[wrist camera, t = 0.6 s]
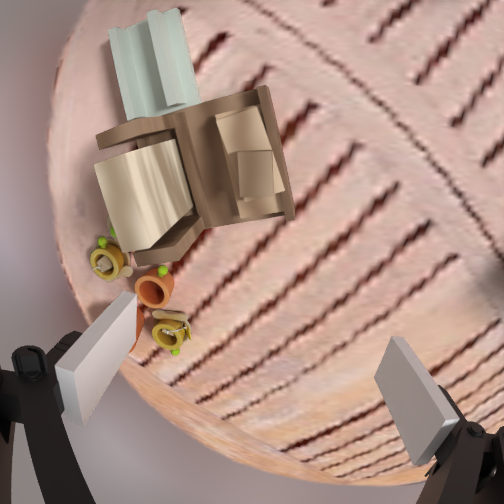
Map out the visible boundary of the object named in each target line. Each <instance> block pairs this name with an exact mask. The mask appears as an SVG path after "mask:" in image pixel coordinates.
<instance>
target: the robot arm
mask: <svg viewBox="0 0 504 504" xmlns="http://www.w3.org/2000/svg"><path fill="white" fill-rule="evenodd" d="M136 315H137V294H134V293H130V292H126V291H123V292H122V293H121V294H120V295H119V296H118V297H117V298H116V299H115V300H114V301H113V302H112V303H111V304H110V305H109V306H108V307H107V308H106V309H105V311H104V312H103V313H102V314H101V315H100V316H99V317H98V318H97V319H96V320H95V321H94V322H93V323H92V324H91V326H90V327H89V328H88V329H87V330H86V331H85V332H84V333H80V332H77V331H73V332H71V333H69V334H67V335H65V336H64V337H63V338H62V339H61V340H60V341H59V343H57V344H56V345H55V346H54V348H52V349H51V350H50V351H49V352H48V353H47V354H46V355H45V353H44V351H43V350H42V349H41V348H39V347H36V346H28V345H27V346H22V347H20V348H18V349H16V350H15V351H14V352H13V353H12V357H11V358H12V362H13V366H14V370H15V372H13V371H8V370H2V369H1V367H0V504H11V472H12V455H13V441H14V432H15V423H16V422H18V423H22V424H24V428H25V433H26V438H27V442H28V446H29V451H30V454H31V458H32V462H33V466H34V469H35V473H36V476H37V480H38V483H39V486H40V489H41V492H42V495H43V498H44V501H45V504H96V503H95V501H94V499H93V497H92V495H91V493H90V490H89V488H88V486H87V484H86V481H85V479H84V477H83V475H82V472H81V470H80V467H79V465H78V463H77V460H76V457H75V455H74V452H73V450H72V447H71V444H70V442H69V439H68V436H67V433H66V430H65V427H64V424H63V421H62V418H61V414H62V413H63V411H65V415H66V419H67V420H68V421H71V422H73V423H76V424H78V425H81V426H84V425H85V424H86V422H87V420H88V419H89V417H90V415H91V413H92V412H93V410H94V408H95V407H96V405H97V403H98V402H99V400H100V398H101V397H102V395H103V393H104V391H105V390H106V388H107V387H108V385H109V383H110V382H111V380H112V378H113V377H114V375H115V374H116V372H117V370H118V369H119V367H120V365H121V364H122V362H123V361H124V359H125V357H126V356H127V354H128V353H129V351H130V349H131V348H132V346H133V345H134V343H135V342H136ZM374 379H375V381H376V383H377V385H378V387H379V389H380V391H381V394H382V396H383V398H384V400H385V402H386V404H387V407H388V409H389V411H390V413H391V415H392V418H393V420H394V422H395V424H396V426H397V429H398V431H399V433H400V436H401V438H402V440H403V442H404V445H405V447H406V449H407V452H408V454H409V456H410V459H411V461H412V463H413V465H421V464H427V463H428V462H429V461H430V459H431V458H432V457H433V456H434V454H435V456H436V458H437V461H436V462H435V464H434V465H433V466H432V467H431V468H430V470H429V471H428V472H427V473H426V475H425V477H427V476H428V474H429V476H428V479H427V481H426V483H425V486H424V488H423V490H422V492H421V494H420V497H419V499H418V501H417V503H416V504H504V426H502V427H500V428H499V430H498V431H497V433H496V434H489V433H486V432H485V430H484V428H483V427H482V426H481V425H479V424H478V423H475V422H472V421H470V422H467V420H466V419H465V417H464V416H463V414H462V413H461V411H460V410H459V408H458V407H457V405H455V402H454V401H453V399H451V396H450V395H449V394H448V392H447V391H446V390H445V389H444V388H442V387H441V386H440V385H437V384H436V382H435V381H434V380H433V378H432V377H431V375H430V374H429V372H428V371H427V369H426V368H425V367H424V365H423V364H422V362H421V361H420V360H419V358H418V357H417V355H416V354H415V353H414V351H413V350H412V348H411V347H410V346H409V344H408V343H407V342H406V340H405V339H404V337H395V336H391V339H390V341H389V344H388V346H387V349H386V351H385V353H384V356H383V358H382V361H381V363H380V365H379V367H378V370H377V372H376V374H375V376H374ZM495 470H496V473H495V475H494V471H495Z"/></svg>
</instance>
